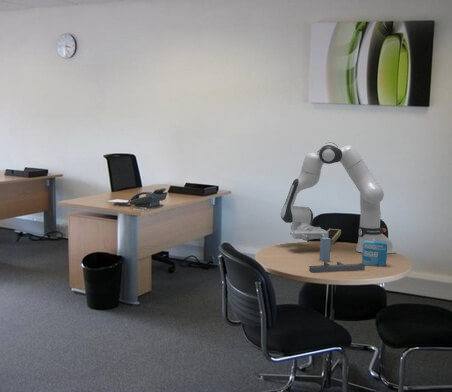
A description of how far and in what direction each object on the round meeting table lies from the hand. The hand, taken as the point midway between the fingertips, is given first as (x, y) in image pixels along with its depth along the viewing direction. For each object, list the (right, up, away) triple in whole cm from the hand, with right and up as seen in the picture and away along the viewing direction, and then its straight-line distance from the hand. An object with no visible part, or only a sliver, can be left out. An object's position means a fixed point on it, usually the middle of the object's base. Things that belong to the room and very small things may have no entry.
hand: (315, 237), depth 292 cm
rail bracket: (+5, -14, -28) cm, 32 cm away
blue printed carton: (+27, -13, -17) cm, 34 cm away
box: (+15, -6, +37) cm, 40 cm away
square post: (+3, -11, -10) cm, 16 cm away
